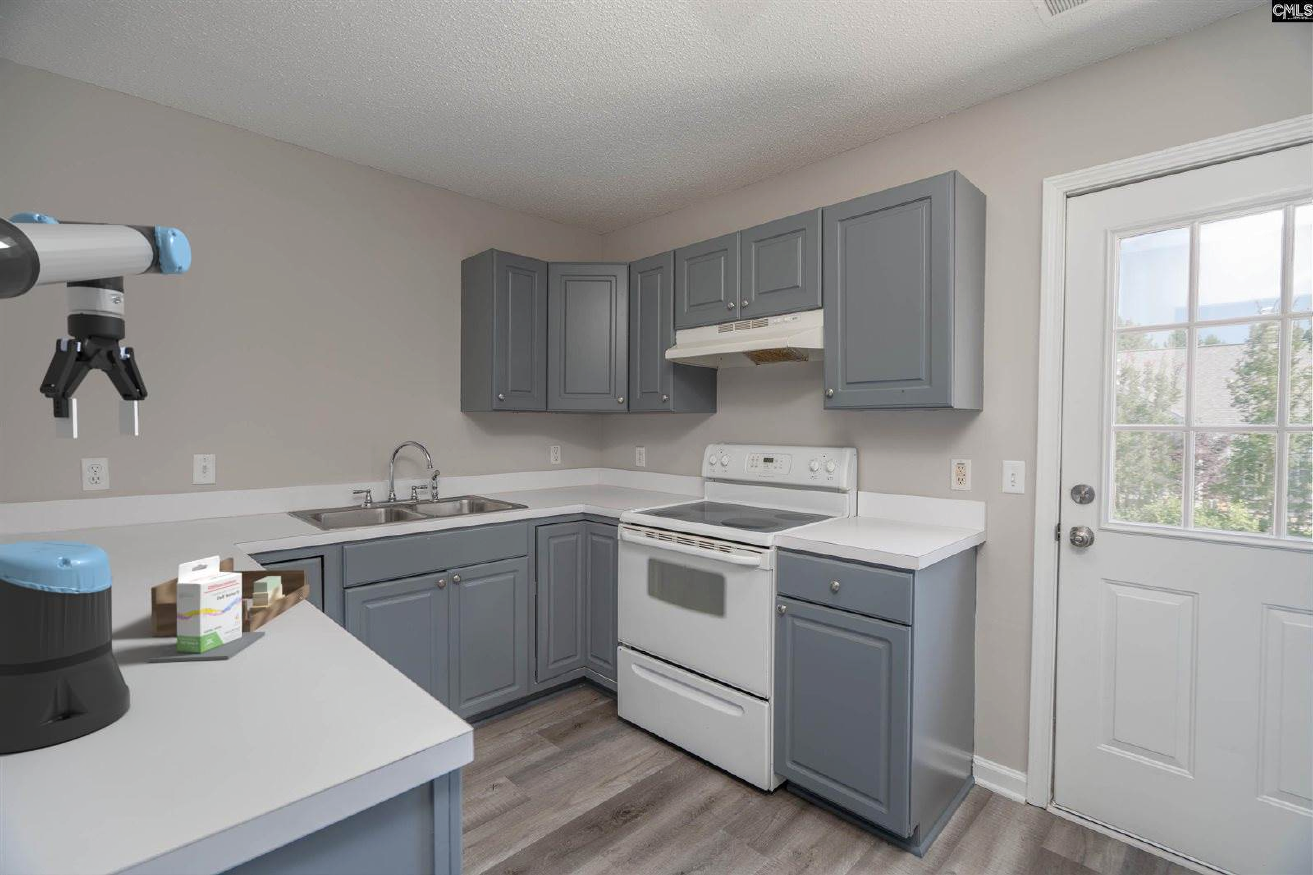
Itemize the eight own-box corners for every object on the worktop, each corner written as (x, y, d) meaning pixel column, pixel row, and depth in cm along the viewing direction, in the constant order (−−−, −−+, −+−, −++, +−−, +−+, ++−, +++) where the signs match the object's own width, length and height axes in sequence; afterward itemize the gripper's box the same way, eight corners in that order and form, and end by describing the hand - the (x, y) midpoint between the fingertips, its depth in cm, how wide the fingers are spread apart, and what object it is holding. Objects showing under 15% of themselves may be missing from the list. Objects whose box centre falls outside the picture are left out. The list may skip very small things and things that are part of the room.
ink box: (200, 654, 104) (199, 566, 103) (175, 652, 104) (174, 564, 104) (244, 636, 112) (243, 555, 112) (221, 635, 113) (219, 554, 113)
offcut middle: (268, 605, 124) (268, 593, 124) (252, 606, 124) (252, 593, 124) (282, 595, 131) (282, 584, 131) (267, 596, 131) (267, 584, 131)
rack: (250, 633, 116) (249, 585, 116) (152, 636, 114) (151, 587, 114) (309, 595, 141) (309, 556, 141) (230, 597, 139) (229, 557, 139)
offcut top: (267, 592, 125) (267, 582, 125) (253, 592, 125) (253, 582, 125) (280, 585, 130) (280, 576, 130) (268, 585, 130) (268, 576, 130)
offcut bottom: (266, 622, 123) (266, 607, 123) (249, 622, 123) (249, 607, 123) (285, 608, 132) (285, 594, 132) (270, 609, 132) (269, 595, 132)
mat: (228, 659, 103) (228, 655, 103) (149, 662, 101) (149, 659, 101) (264, 634, 115) (264, 631, 115) (194, 637, 113) (194, 634, 113)
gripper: (57, 303, 97) (61, 439, 98) (168, 326, 122) (171, 434, 122) (5, 302, 96) (9, 439, 97) (127, 325, 121) (130, 434, 122)
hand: (99, 436), depth 110 cm, fingers open, 13 cm apart
